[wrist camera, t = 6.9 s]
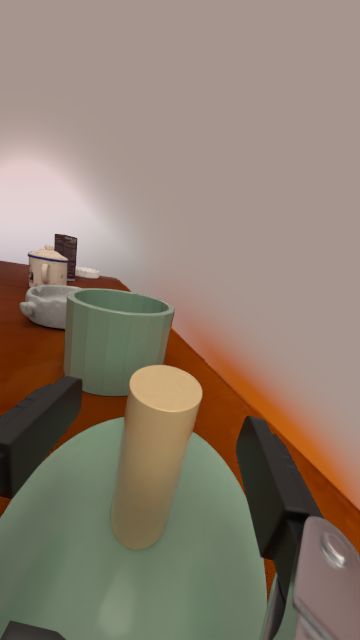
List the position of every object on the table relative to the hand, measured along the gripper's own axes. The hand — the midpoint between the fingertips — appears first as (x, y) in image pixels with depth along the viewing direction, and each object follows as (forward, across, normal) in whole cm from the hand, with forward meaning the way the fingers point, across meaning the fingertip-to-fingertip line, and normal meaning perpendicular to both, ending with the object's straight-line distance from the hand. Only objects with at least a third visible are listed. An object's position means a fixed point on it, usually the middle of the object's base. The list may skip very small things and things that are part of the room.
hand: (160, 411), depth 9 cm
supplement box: (+64, +48, +7) cm, 81 cm away
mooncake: (+84, +50, +7) cm, 98 cm away
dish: (+25, +20, +7) cm, 33 cm away
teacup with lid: (+43, +38, +7) cm, 58 cm away
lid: (-1, 0, +6) cm, 6 cm away
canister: (+13, +7, +6) cm, 16 cm away
